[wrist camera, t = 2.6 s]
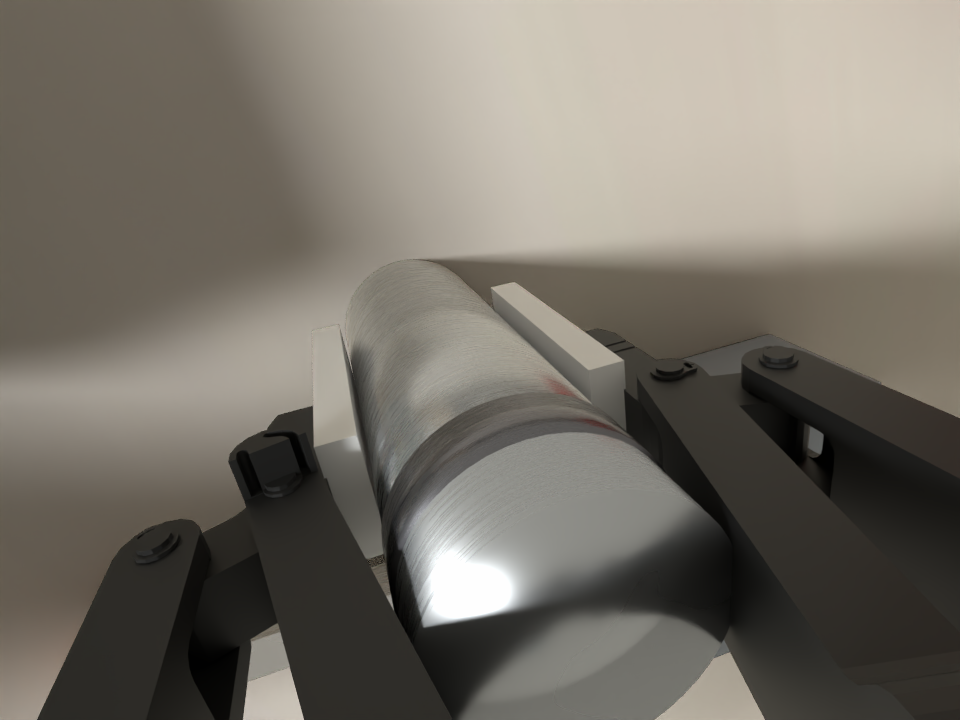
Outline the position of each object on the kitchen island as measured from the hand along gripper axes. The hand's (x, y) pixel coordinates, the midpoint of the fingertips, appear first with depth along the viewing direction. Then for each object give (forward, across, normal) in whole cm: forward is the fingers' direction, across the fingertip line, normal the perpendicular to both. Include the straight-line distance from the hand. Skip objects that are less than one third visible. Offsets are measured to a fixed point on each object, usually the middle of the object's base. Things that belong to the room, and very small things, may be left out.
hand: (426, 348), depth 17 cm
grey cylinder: (+2, 0, 0) cm, 2 cm away
